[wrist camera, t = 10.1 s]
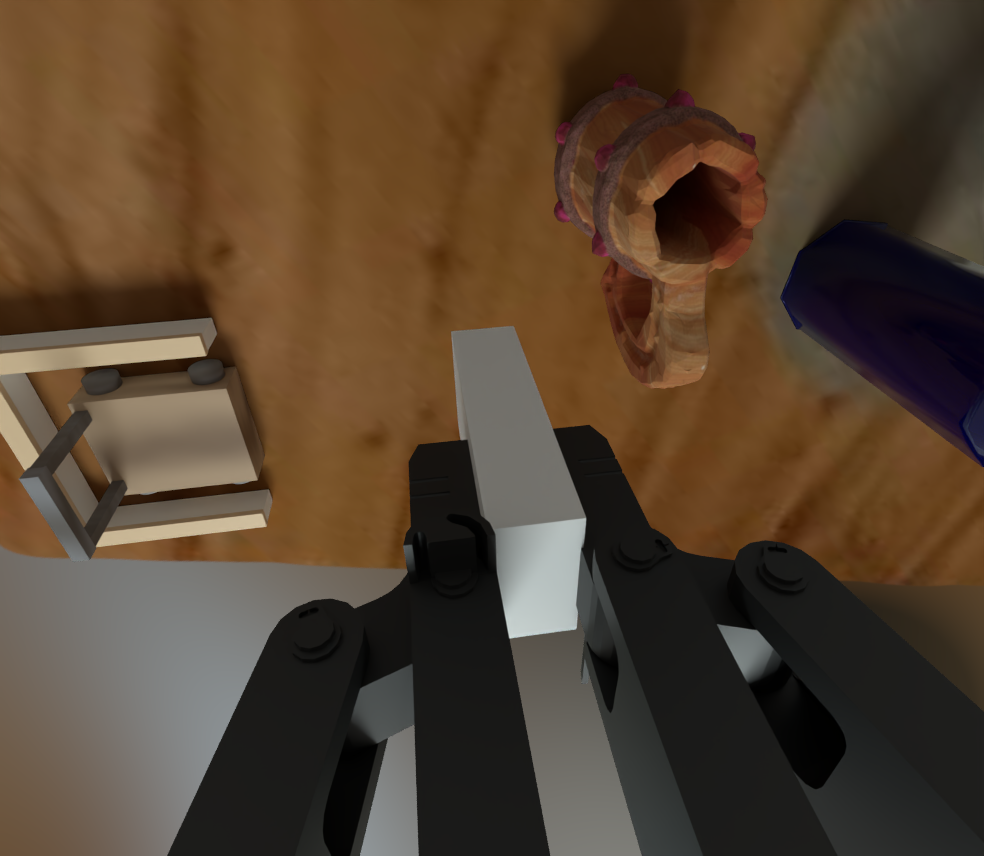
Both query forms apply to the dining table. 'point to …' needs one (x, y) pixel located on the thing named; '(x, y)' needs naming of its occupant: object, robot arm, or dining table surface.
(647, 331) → the mug
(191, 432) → the trolley
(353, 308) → the dining table surface
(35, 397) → the bay
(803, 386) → the dining table surface
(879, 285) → the bottle
